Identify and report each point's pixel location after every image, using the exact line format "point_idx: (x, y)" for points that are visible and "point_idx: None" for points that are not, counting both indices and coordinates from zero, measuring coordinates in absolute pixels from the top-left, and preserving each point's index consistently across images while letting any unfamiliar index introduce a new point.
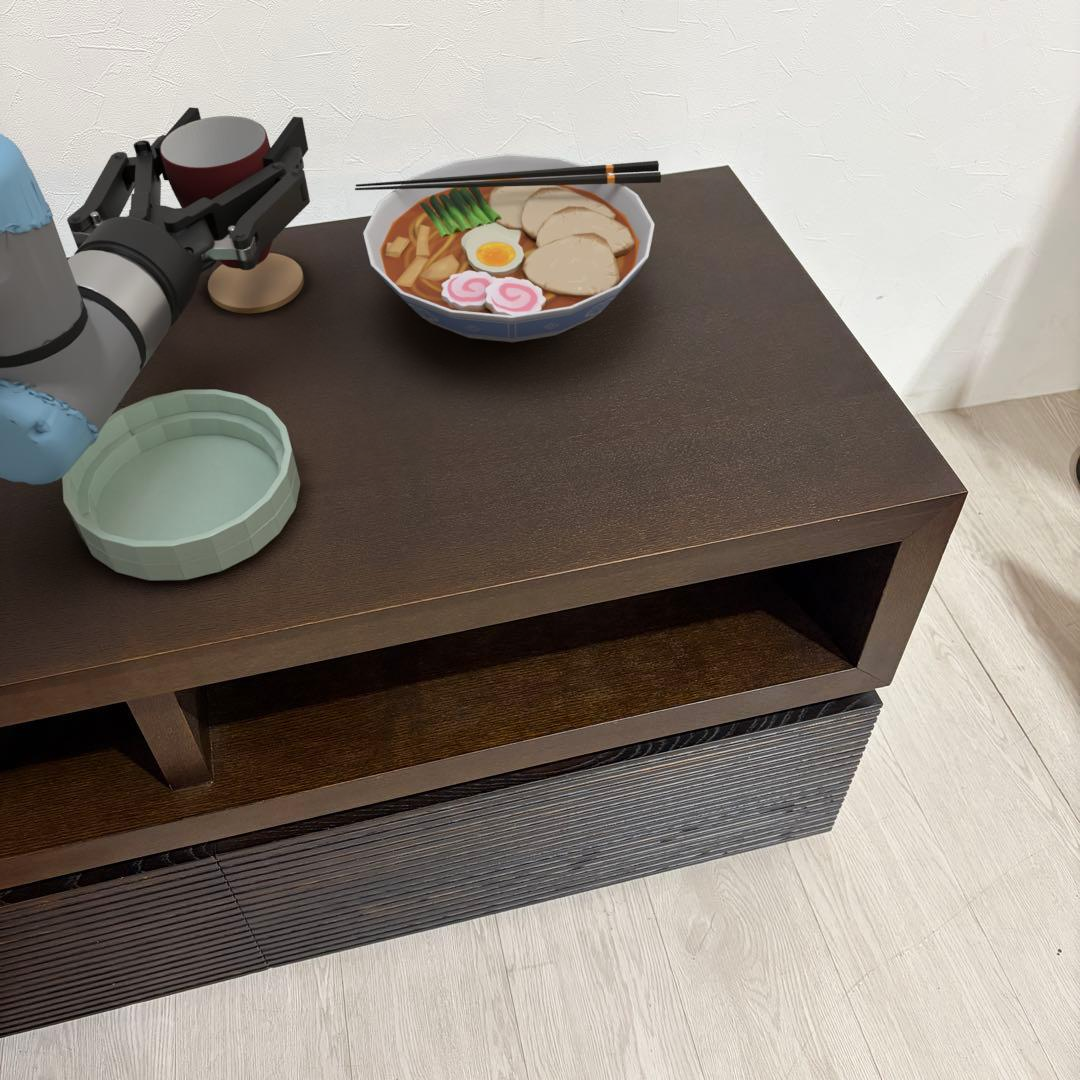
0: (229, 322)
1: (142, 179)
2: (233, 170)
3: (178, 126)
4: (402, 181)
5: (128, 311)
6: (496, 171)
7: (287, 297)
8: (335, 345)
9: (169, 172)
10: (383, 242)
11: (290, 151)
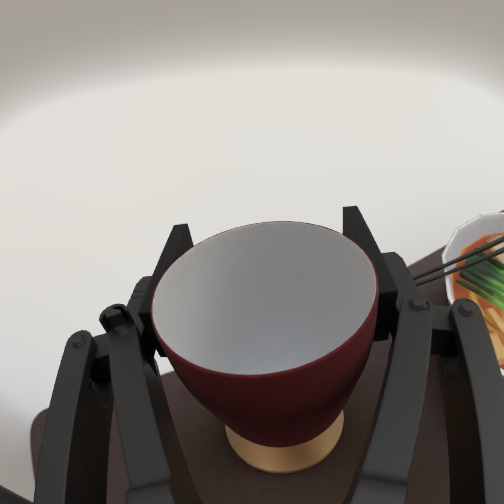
0: (280, 491)
1: (133, 414)
2: (356, 348)
3: (167, 258)
4: (448, 262)
5: None
6: (478, 231)
7: (339, 436)
8: (432, 483)
9: (186, 377)
10: None
11: (387, 263)
